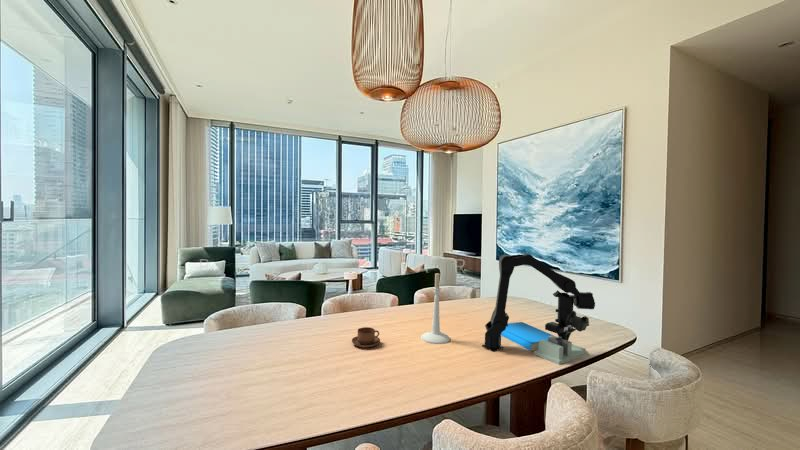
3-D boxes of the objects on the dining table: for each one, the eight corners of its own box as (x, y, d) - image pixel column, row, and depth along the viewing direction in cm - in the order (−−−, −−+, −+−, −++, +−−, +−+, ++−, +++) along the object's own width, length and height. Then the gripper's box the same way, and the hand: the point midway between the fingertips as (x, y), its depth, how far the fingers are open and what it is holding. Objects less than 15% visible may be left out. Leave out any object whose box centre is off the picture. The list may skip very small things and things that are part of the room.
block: (557, 355, 134) (557, 340, 134) (548, 352, 137) (548, 337, 137) (561, 354, 135) (562, 339, 135) (552, 350, 139) (553, 336, 139)
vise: (558, 364, 129) (559, 349, 128) (533, 354, 138) (534, 340, 138) (588, 354, 139) (588, 340, 139) (562, 345, 148) (563, 332, 148)
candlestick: (440, 346, 144) (442, 276, 143) (415, 339, 151) (417, 272, 151) (454, 338, 154) (456, 272, 153) (431, 331, 162) (432, 269, 161)
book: (521, 321, 170) (561, 337, 147) (521, 330, 170) (561, 347, 147) (493, 324, 164) (531, 342, 141) (493, 333, 164) (530, 352, 141)
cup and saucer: (366, 337, 152) (366, 323, 152) (385, 344, 145) (386, 330, 145) (345, 344, 143) (346, 330, 143) (365, 352, 136) (365, 337, 135)
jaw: (567, 355, 133) (567, 340, 133) (547, 348, 141) (548, 334, 141) (571, 354, 135) (571, 339, 135) (551, 347, 142) (552, 333, 142)
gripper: (571, 316, 127) (569, 357, 128) (597, 309, 137) (596, 347, 138) (544, 309, 137) (543, 347, 137) (571, 303, 147) (570, 339, 147)
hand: (564, 345), depth 139 cm, fingers closed
